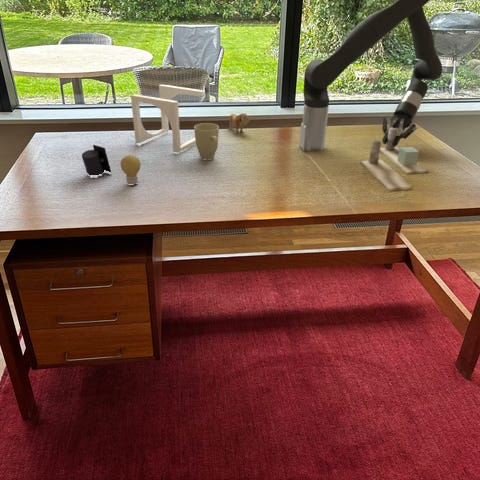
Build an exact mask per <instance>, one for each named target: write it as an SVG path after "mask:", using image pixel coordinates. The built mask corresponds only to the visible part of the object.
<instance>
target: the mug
mask: <svg viewBox="0 0 480 480" xmlns="http://www.w3.org/2000/svg"><path fill="white" fill-rule="evenodd" d="M193 129H194V138H195V140H196V145H195V146H196V149H197V151H198V155H199V157H200V159H201V158H202V159H206V160H205V161H209V160H208V159H212V160H213V159H214V158H215V155H216V151H217V150H218V146H219V130H220V127H219V125H218V124H215V123H211V122H203V123H198V124H195V125H194V127H193ZM202 159H201V160H202Z"/></svg>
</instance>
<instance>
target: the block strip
mask: <svg viewBox="0 0 480 480" xmlns="http://www.w3.org/2000/svg"><path fill="white" fill-rule="evenodd" d="M388 128H389V127H388ZM397 134H398V129H397V128H389V133H388V139H387V143H386V144H385V147H381V148H380V153H381V154H382V155H383V156H384V157H386V158H387V159H388V160H389V161H390V162H391V163H393V164H394V165H395V166H396V167H397V168H399V170H401V171H402V172H403V173H405V174H406V175H409V174H410V175H411V174H424V173H425V174H426V173H428V172H429V170H428V169H427V168H425V167H424V166H423V165H421V163H419V162H418V161H417V165H406V166H403V165H402V164H401V163H400V162H399V161H397V160H398V154H399V149H400V147H398V146H395V147H393V146H392V143H393V141H394V139H395V137H396V136H397Z"/></svg>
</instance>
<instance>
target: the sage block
mask: <svg viewBox="0 0 480 480" xmlns="http://www.w3.org/2000/svg"><path fill="white" fill-rule="evenodd" d="M419 155H420V151H419V150H418V149H416V148H415V147H414V146H402V147H401V146H400V147H399V154H398V160H397V161H399V162H400V163H401V164H402V165H403V166H406V165H417V162H418V159H419Z"/></svg>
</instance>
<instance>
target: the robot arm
mask: <svg viewBox="0 0 480 480" xmlns="http://www.w3.org/2000/svg"><path fill="white" fill-rule="evenodd" d="M429 2H430V0H396V1H395V2H393V3H391V4H389V6H386V7H384V8H381V9H379V10H378V11H375V12H373V13H371V14H370V15H367V16H366V17H365V18H364V19H363V20H361V21H360V22H359V23H358V24H357V25H356V26H354V27H353V29H351V30H350V32H349V33H348V35H347V36H346V37H345V39H344V40H343V42H342V43H341V45H340V46H339V47H338V48H337V49H336V51H335V52H333V53H332V54H331V55H330V56H328V57H327V58H325V59H321V58H315V59H312V60H311V61H309V62H308V64H307V65H306V66H305V70H304V77H303V98H304V100H303V101H304V103H303V112H302V113H303V114H302V122H300V131H299V133H300V134H299V144H298V145H299V148H301V149H302V151H303V152H316V151H317V152H318V151H323V150H325V143H326V135H327V125H328V117H329V116H328V114H329V103H330V97H329V92H328V88H329V86H331V85H332V83H334V82H335V81H336V79H337V78H339V77H340V75H342V73H343V72H344V71H345V70H346V69H347V68H348V67H349V66H350V65H351V64H353V63H354V62H355V61H357V60H358V59H360V57H362V56H363V55H364V53H366V52H367V51H369V50H370V49H371V48H372V47H374V46H375V45H376V44H378V42H380V41H381V39H383V38H384V37H385V36H386V35H388V34H389V33H390V32H391V31H392V30H393V29H395V28H396V27H398V25H399V24H400V23H401V22H403V21H404V20H406V19H407V21H408V25H409V26H408V27H409V29H410V32H411V37H412V38H411V39H412V43H413V44H412V45H413V50H414V55H415V58H416V59H418V60H420V61H417V62H416V63H415V65H414V66H413V69H412V75H411V78H410V83H409V86H408V88H407V89H406V91H405V93H404V94H403V95H402V97H401V99H400V101H399V103H398V104H397V107H396V109H395V111H393V114H392V115H391V116H390V117H389V118H388V117H386V116H385V117H383V118H382V127H381V128H382V132H383V134H384V135H383V137H382V140H381V142H382V144H383V145H386V144H387V139H388V133H389V128H397V129H398V132H397V136H396V137H395V139H394V141H393V143H392V146H393V147H398V146H397V145H398V144H399V143H400V140H402V139H405V140H406V139H407V138H409V136H411V135H412V134H413V133H414V132H415V131H416V130H417V129H418V128H417V126H416V125H417V124H416V123H413V120H414V118H415V116H417V115H416V114H417V113H418V111H419V109H420V107H421V106H422V105H421V104H422V102H423V99H424V98H425V96H426V94H427V93H428V89H429V85H428V84H427V83H426V82H425V81H436V80H438V79H440V77H441V76H442V73H443V64H442V62H441V59H440V57H439V56H438V53H437V51H436V49H435V42H434V35H433V32H432V29H431V26H430V24H429V21H428V19H427V17H426V14H425V12H424V6H425V5H426V4H427V3H429ZM389 124H390V125H389ZM388 125H389V126H388Z"/></svg>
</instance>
